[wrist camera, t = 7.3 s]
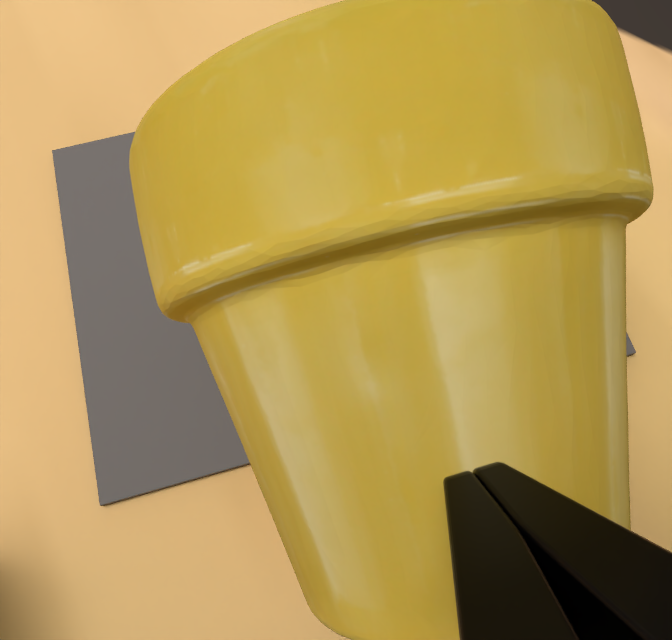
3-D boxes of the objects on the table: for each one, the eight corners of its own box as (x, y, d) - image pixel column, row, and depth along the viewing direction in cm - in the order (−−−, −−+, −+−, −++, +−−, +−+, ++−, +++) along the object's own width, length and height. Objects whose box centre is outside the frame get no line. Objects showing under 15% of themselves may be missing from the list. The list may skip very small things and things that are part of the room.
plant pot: (777, 483, 13) (664, 72, 14) (734, 862, 5) (465, -184, 6) (400, 492, 19) (336, 215, 20) (120, 662, 11) (28, 193, 12)
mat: (631, 355, 17) (636, 352, 17) (104, 505, 16) (100, 505, 16) (488, 58, 21) (491, 51, 21) (55, 155, 20) (52, 150, 20)
